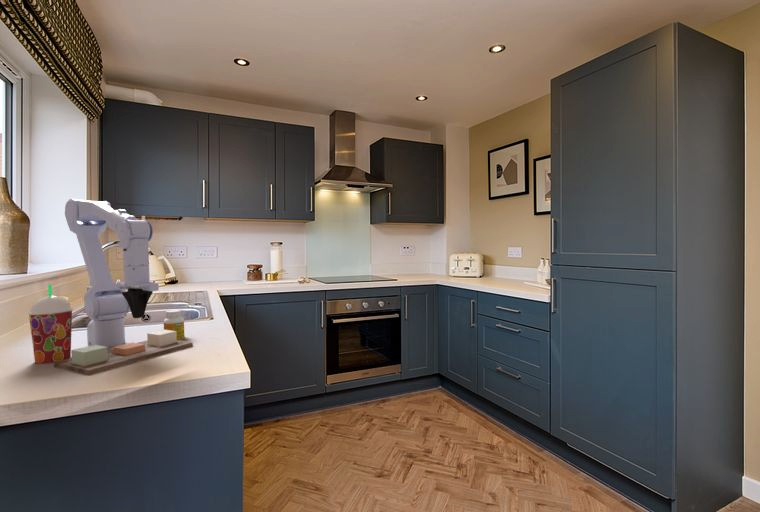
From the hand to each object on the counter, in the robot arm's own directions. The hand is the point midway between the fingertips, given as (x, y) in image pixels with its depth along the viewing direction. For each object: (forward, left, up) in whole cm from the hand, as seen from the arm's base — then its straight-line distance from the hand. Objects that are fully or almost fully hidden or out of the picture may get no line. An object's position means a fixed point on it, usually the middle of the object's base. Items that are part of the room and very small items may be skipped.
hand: (138, 317), depth 105 cm
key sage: (+2, -13, -9) cm, 16 cm away
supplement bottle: (-4, +13, -11) cm, 17 cm away
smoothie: (-12, -14, -11) cm, 21 cm away
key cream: (+2, +5, -9) cm, 10 cm away
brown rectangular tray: (+2, -4, -10) cm, 11 cm away
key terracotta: (+2, -4, -10) cm, 11 cm away
